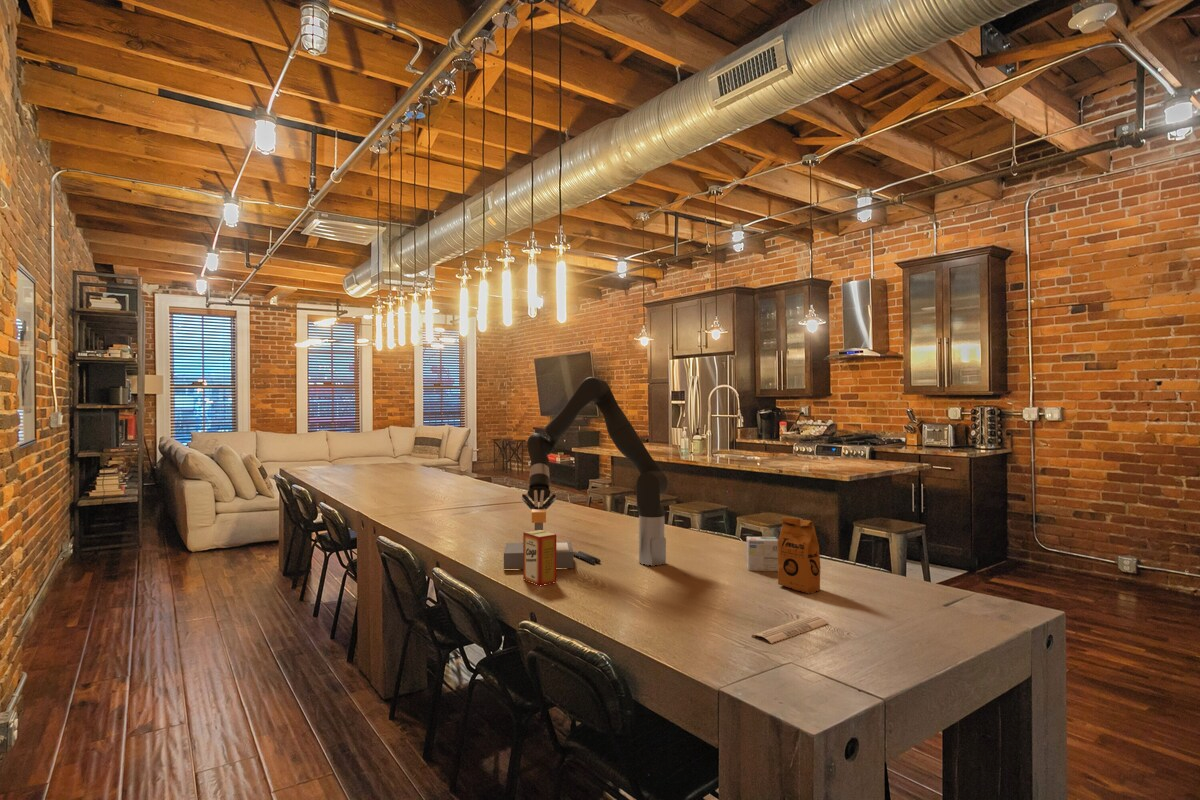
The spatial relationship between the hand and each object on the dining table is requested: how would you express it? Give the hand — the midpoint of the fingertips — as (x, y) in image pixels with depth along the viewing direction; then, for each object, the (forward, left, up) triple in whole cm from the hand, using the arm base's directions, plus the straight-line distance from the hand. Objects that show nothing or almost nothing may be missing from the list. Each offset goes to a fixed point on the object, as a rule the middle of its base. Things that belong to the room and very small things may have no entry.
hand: (538, 517), depth 229 cm
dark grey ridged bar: (-2, -18, -17) cm, 25 cm away
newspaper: (-92, -29, -18) cm, 98 cm away
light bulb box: (-44, -65, -17) cm, 81 cm away
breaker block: (+1, 0, -17) cm, 17 cm away
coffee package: (-67, -58, -17) cm, 91 cm away
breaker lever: (+1, 0, -10) cm, 10 cm away
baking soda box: (-19, +9, -17) cm, 27 cm away
